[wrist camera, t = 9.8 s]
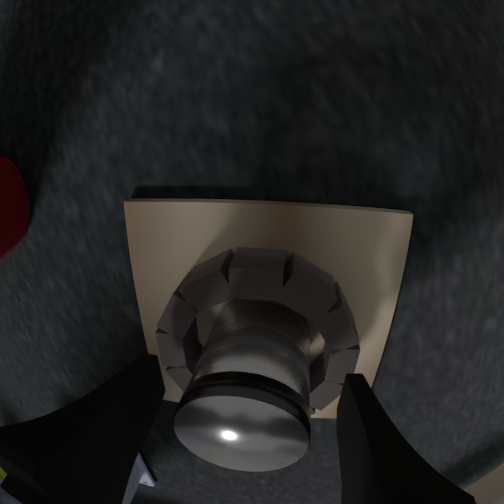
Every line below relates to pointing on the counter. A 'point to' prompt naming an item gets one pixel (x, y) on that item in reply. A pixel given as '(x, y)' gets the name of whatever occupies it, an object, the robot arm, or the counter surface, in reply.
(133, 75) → the counter surface
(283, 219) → the mount plate
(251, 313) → the silver capped cylinder
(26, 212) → the plastic cup
